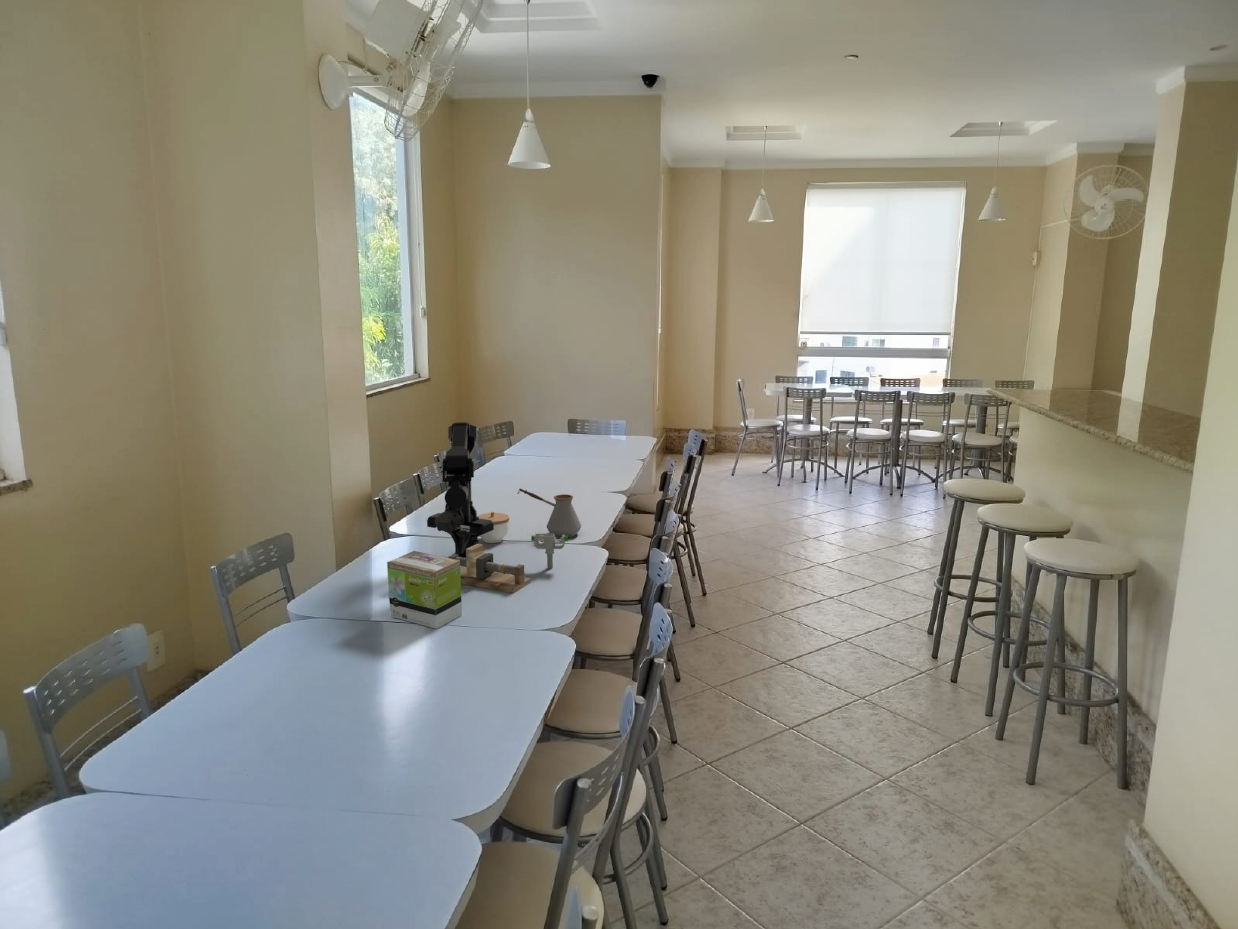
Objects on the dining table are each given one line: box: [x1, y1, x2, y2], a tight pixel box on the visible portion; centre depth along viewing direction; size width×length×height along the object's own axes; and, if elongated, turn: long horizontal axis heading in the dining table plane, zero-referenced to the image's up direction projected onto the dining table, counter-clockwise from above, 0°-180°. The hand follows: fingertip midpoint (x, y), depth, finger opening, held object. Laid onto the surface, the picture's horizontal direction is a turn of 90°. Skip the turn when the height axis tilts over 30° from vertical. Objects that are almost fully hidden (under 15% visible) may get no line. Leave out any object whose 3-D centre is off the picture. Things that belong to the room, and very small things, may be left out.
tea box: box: [386, 550, 463, 630], centre depth 193 cm, size 15×10×15 cm, turn 62°
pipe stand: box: [448, 553, 532, 594], centre depth 218 cm, size 23×9×6 cm, turn 66°
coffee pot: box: [517, 488, 582, 539], centre depth 262 cm, size 21×12×15 cm, turn 80°
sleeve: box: [466, 543, 488, 577], centre depth 219 cm, size 3×5×8 cm, turn 156°
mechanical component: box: [531, 533, 568, 570], centre depth 229 cm, size 3×10×10 cm, turn 89°
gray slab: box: [477, 552, 494, 579], centre depth 218 cm, size 2×6×6 cm, turn 156°
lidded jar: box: [477, 511, 510, 544], centre depth 255 cm, size 11×11×9 cm
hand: (461, 553), depth 221 cm, fingers closed
